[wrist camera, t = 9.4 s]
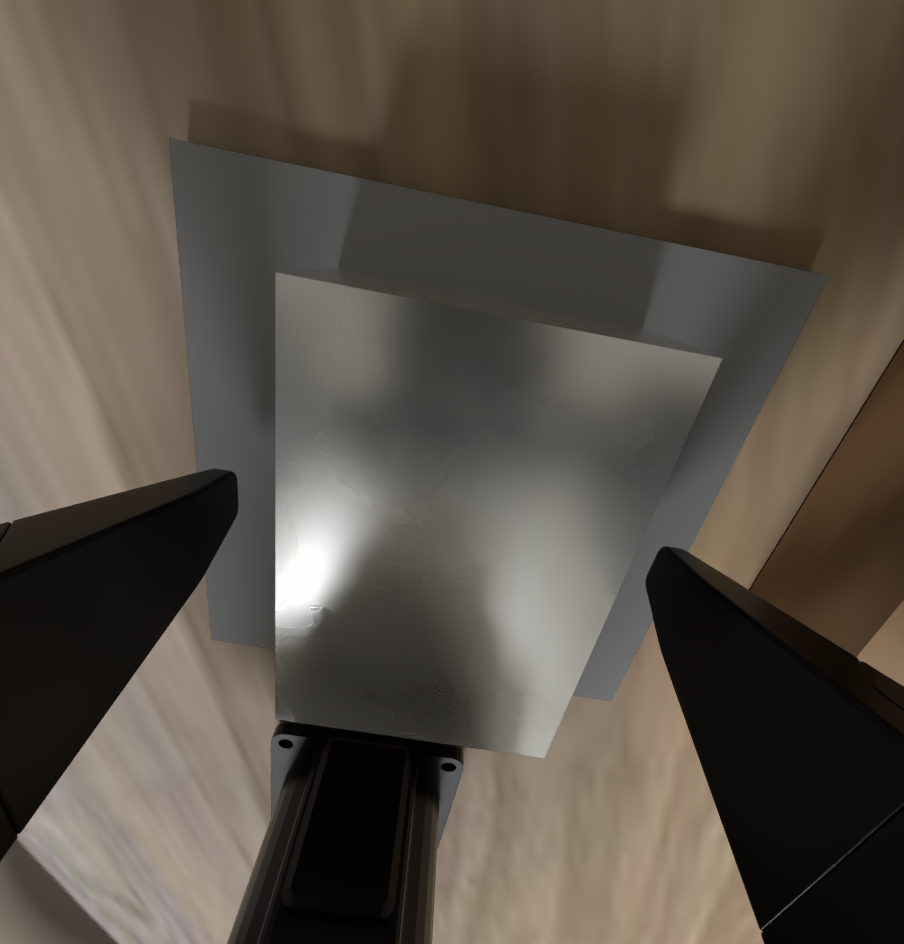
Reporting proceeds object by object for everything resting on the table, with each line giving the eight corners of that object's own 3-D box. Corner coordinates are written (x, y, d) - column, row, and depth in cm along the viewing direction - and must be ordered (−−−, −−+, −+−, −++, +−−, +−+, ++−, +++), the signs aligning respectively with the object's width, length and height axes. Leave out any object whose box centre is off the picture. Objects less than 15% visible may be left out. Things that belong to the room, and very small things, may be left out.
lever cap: (527, 650, 13) (544, 758, 10) (318, 617, 12) (275, 719, 10) (643, 326, 9) (722, 359, 6) (337, 266, 8) (275, 272, 6)
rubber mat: (606, 686, 14) (611, 701, 13) (219, 626, 13) (211, 639, 13) (810, 274, 9) (829, 275, 8) (185, 144, 8) (169, 137, 8)
